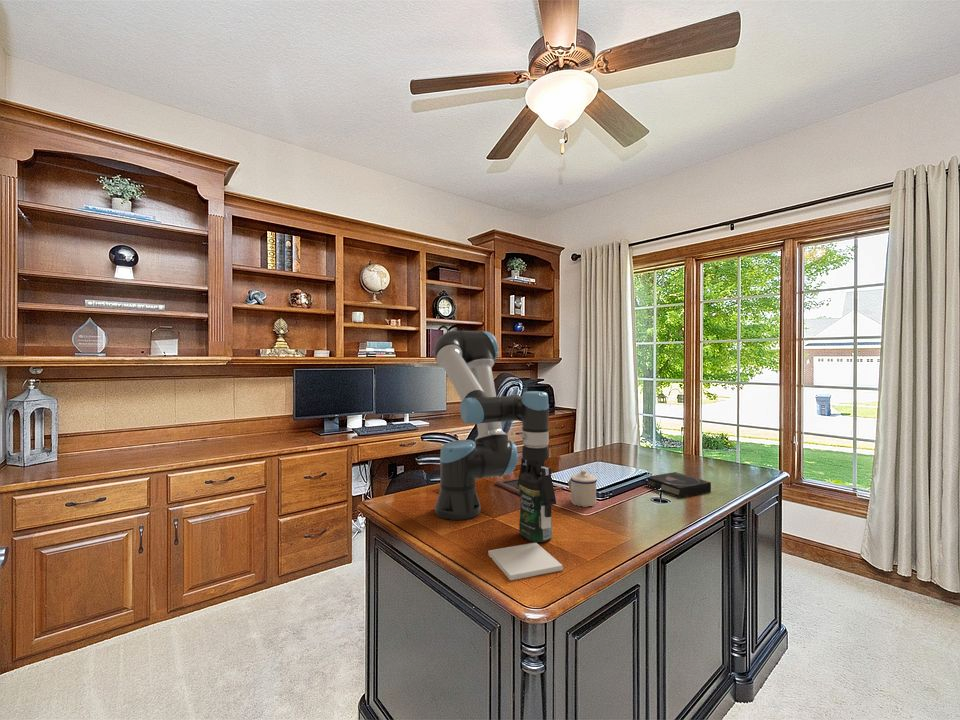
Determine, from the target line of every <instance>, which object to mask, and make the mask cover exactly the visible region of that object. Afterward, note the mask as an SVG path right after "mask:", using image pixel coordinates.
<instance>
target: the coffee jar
mask: <svg viewBox="0 0 960 720" xmlns="http://www.w3.org/2000/svg"><path fill="white" fill-rule="evenodd" d="M537 478H538V479H537V480H536V479H534V477H533V474H531V473H530V472H528V473H527V472H523V473H522V474H521V475H520V481H519V488H520V495H521V496H520V495H519V496H520V504H519V505H520V510H519V521H518V522H519V525H518V528H519V529H518V531H519V534H520V536H522V537H523V538H524V539H526V540H528V541H530V542H531V543H546V542H548V541H550V540H551V539H552V538H553V522H552V518H551V528H546V529H542V528H541V504H542V503H543V502H542V498H541V495H540V489H539V484H542V477H541V476H538V477H537Z"/></svg>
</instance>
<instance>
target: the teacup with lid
mask: <svg viewBox="0 0 960 720" xmlns="http://www.w3.org/2000/svg"><path fill="white" fill-rule="evenodd" d="M597 481H598V480H597V477H596V476H594V475H591V474H590V473H589V472H588V471H587V470H586V469H581V470H580V472H578V473H576V474H573V475H571V477H570V479H569V480H568V485H569V489H568V490H569V491H570V497H571V498H570V499H571V500H570V502H571V504H572V503H573V504H572V505H574V506H576V505H577V506H576V507H580V506H583V507H582V508H589V507H588V506H592V507H595V506H596V505H597ZM595 504H596V505H595Z"/></svg>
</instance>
